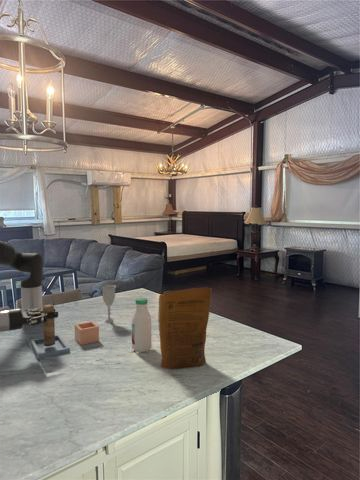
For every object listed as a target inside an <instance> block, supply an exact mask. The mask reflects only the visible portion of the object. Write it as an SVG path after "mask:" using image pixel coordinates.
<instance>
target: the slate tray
mask: <svg viewBox="0 0 360 480" xmlns="http://www.w3.org/2000/svg"><path fill="white" fill-rule="evenodd" d="M30 347H31V349H32V351H33V353H34V355H35V356H36V358H37V361H38V362H40V359H44V358H49V357H54V356H58V355H61V354H66V353H70V352H71V347H70V346H69V345H68V344H67V342H66V341H65V340H64V338H63V337H62V335H60V334H55V344H54V345H52V346H44V336H43V337H40V338H34V339H30Z"/></svg>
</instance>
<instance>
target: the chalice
mask: <svg viewBox="0 0 360 480" xmlns="http://www.w3.org/2000/svg"><path fill="white" fill-rule="evenodd" d="M116 288H117V285H115V284H106V285H102V286H101V290H102V300H103V302H104V304H105V306H106V307H107V318H106V319H104V323H105V324H112V323H114V319H113V318H112V317H111V314H112V313H111V306H112V305H113V304H114V300H115V298H116Z"/></svg>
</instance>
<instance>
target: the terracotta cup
mask: <svg viewBox="0 0 360 480" xmlns="http://www.w3.org/2000/svg"><path fill="white" fill-rule="evenodd" d="M99 329H100V326H99V325H97V324H96V322H94V321H92V320H91V321H87V322H82V323H81V322H80V323H76V324H74V339H75V340H76V342H77V343H78V344H79V345H80V346H82V345H86V344H91V343H95V342H99V341H100V330H99Z"/></svg>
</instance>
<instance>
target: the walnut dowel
mask: <svg viewBox="0 0 360 480" xmlns="http://www.w3.org/2000/svg"><path fill="white" fill-rule="evenodd" d="M42 309H43V313H50V312H54V309H55V305H54V304H45V305H42ZM43 318H44V317H43ZM42 324H43V326H42V327H43V328H42V329H43V337H44V346H52V345H54V344H55V335H56V332H55V330H56V329H55V328H56V327H55V326H56V325H55V318H51V319H48V320H47V322H43V323H42Z"/></svg>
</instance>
